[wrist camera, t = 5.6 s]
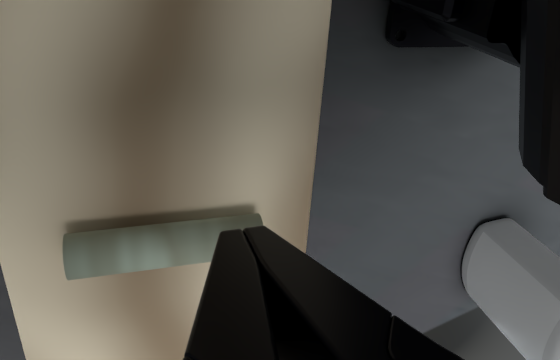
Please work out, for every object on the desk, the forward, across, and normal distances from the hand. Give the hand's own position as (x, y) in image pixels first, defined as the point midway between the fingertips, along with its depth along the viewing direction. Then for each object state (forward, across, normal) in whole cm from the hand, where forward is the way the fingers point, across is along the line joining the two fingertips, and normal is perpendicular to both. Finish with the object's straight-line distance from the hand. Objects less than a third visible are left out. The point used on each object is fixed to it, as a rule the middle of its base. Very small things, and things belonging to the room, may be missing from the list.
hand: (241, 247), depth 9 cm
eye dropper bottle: (+12, -17, +13) cm, 25 cm away
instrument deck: (+8, +1, +2) cm, 8 cm away
